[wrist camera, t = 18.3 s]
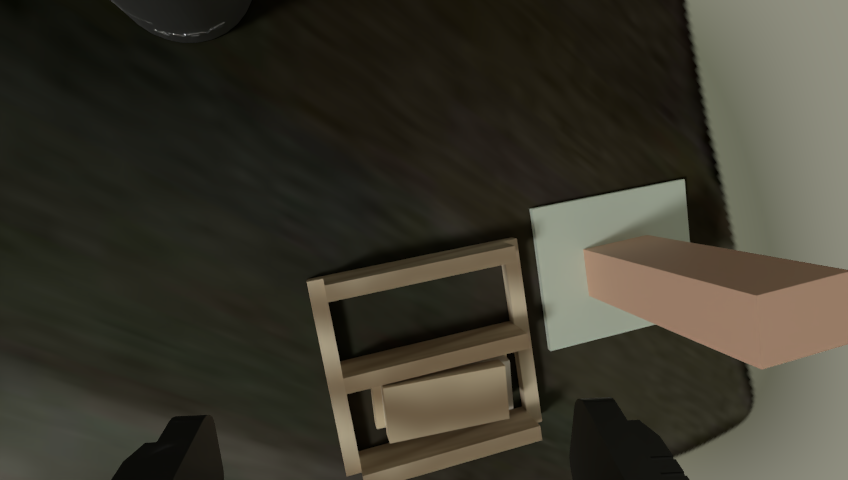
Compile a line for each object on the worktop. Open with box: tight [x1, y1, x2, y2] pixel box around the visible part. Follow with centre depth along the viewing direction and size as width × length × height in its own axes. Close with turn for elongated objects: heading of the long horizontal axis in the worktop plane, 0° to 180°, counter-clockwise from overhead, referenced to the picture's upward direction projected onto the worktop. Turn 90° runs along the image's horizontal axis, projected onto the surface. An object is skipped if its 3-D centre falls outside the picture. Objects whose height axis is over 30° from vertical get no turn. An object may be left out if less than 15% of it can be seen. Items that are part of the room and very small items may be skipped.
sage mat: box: [530, 179, 690, 351], centre depth 44 cm, size 12×14×1 cm
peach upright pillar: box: [583, 235, 848, 369], centre depth 35 cm, size 4×6×17 cm, turn 100°
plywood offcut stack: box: [371, 354, 514, 444], centre depth 40 cm, size 4×11×4 cm, turn 96°
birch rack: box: [307, 237, 542, 480], centre depth 40 cm, size 16×16×4 cm
